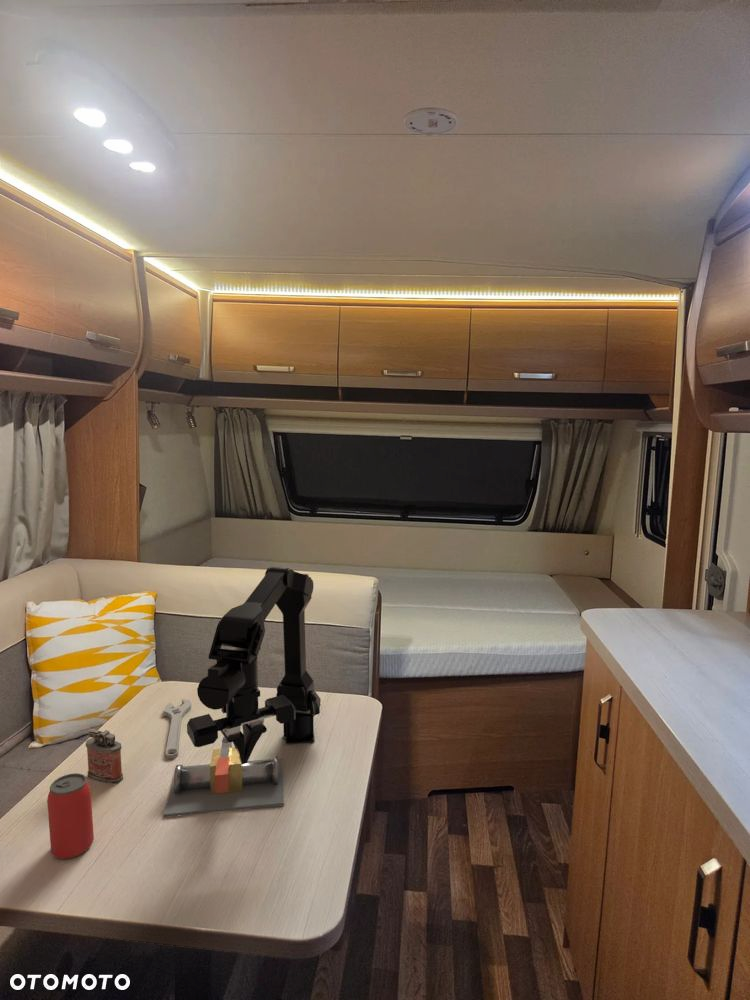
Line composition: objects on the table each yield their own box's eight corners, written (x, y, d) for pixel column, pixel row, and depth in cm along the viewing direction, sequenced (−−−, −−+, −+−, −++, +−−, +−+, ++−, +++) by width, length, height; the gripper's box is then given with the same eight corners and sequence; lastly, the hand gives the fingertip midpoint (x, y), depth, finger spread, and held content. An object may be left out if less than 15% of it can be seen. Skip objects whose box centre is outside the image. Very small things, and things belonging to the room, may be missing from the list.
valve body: (278, 773, 123) (277, 743, 122) (278, 791, 117) (278, 760, 116) (178, 782, 120) (177, 752, 119) (173, 801, 114) (172, 769, 113)
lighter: (127, 776, 121) (124, 731, 120) (115, 786, 118) (112, 739, 117) (96, 768, 124) (93, 724, 123) (83, 777, 121) (80, 732, 119)
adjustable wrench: (178, 760, 128) (178, 753, 128) (147, 763, 127) (146, 756, 127) (192, 704, 152) (192, 698, 152) (166, 706, 151) (166, 700, 151)
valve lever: (222, 751, 119) (221, 735, 118) (233, 750, 119) (232, 734, 119) (215, 793, 106) (214, 775, 105) (228, 791, 106) (227, 774, 106)
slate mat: (282, 760, 128) (282, 758, 127) (283, 805, 113) (283, 802, 113) (176, 769, 124) (176, 767, 124) (163, 817, 109) (163, 814, 109)
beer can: (61, 834, 105) (56, 771, 103) (99, 832, 105) (96, 770, 103) (43, 862, 98) (38, 796, 96) (84, 860, 99) (80, 794, 97)
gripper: (273, 656, 118) (274, 729, 120) (177, 677, 108) (181, 755, 111) (296, 677, 109) (297, 756, 111) (193, 702, 99) (197, 788, 101)
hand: (243, 762), depth 109 cm, fingers closed
